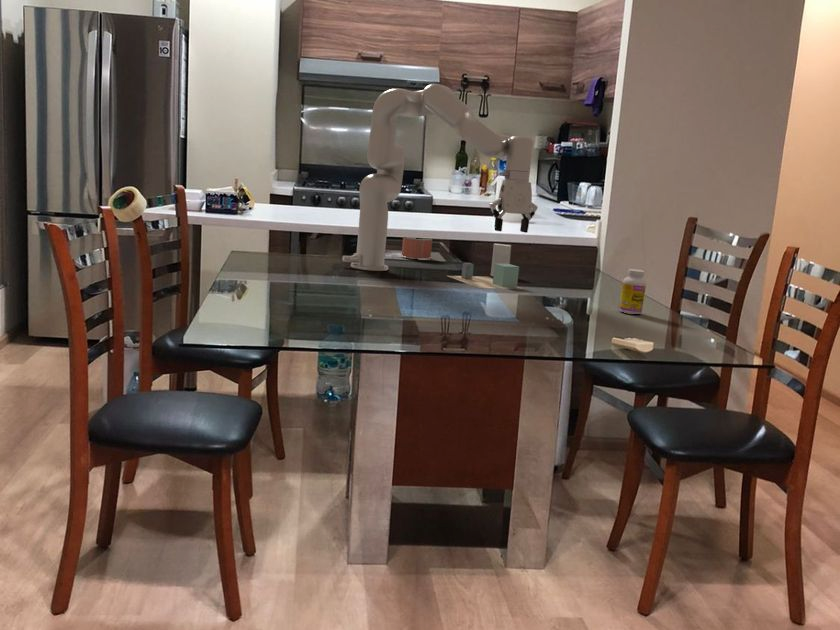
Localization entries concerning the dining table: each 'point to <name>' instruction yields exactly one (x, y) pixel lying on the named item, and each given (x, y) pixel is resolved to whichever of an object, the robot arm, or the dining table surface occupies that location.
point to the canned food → (416, 247)
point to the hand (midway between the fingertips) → (511, 231)
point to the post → (467, 271)
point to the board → (482, 282)
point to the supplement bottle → (633, 292)
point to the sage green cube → (505, 275)
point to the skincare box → (500, 255)
